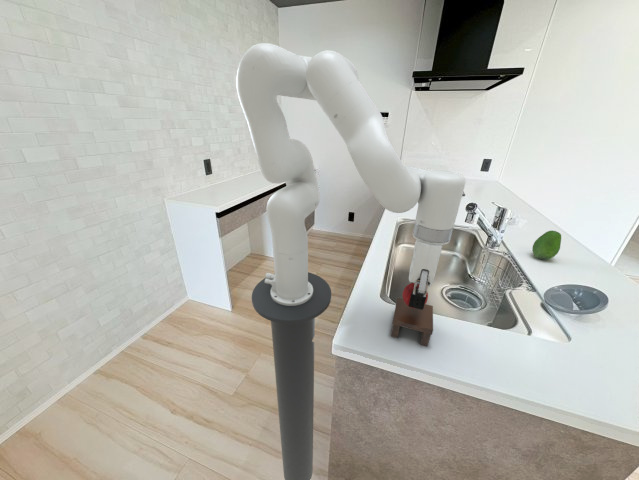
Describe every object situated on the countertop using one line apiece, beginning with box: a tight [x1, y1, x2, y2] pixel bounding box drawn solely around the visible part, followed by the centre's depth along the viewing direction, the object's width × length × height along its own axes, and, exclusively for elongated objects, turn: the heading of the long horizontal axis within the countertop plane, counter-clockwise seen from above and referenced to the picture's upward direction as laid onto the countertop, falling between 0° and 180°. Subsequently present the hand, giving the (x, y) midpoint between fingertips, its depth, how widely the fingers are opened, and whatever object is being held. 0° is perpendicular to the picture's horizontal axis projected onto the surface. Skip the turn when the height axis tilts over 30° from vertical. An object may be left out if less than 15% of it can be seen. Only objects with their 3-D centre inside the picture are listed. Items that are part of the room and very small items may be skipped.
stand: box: [390, 297, 434, 347], centre depth 66 cm, size 9×9×6 cm
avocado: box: [531, 230, 562, 261], centre depth 99 cm, size 8×8×12 cm
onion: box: [402, 280, 429, 308], centre depth 62 cm, size 6×6×8 cm
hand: (416, 298), depth 63 cm, fingers closed on onion, 5 cm apart
